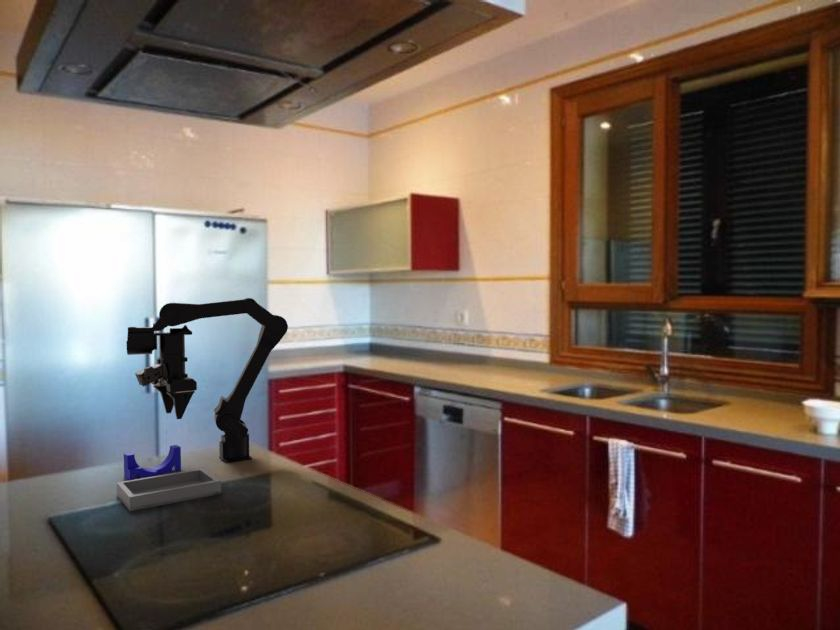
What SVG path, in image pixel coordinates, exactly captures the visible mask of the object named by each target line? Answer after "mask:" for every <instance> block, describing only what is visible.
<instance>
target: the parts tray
mask: <svg viewBox="0 0 840 630" xmlns="http://www.w3.org/2000/svg"><path fill="white" fill-rule="evenodd" d="M221 494H222V480H221V479H219V478H217V477H216V476H215V475H213V474H212V473H211V472H209V471H208V470H206V469H205V468H203V467H202V468H197V469H196V468H195V469H189V470H184V471H176V472H172V473H166V474H160V475H157V476H153V477H147V478H141V479H135V478H134V479H133V480H129V481H128V480H125V481H117V482H116V496H117V497H118V499H119V500H120V501H121V503H123V505H124V506H125V507H126V509H127V510H128V511H129V512H133V511H137V510H143V509H148V508H149V509H150V508H154V507H159V506H164V505H169V504H175V503H180V502H184V501H190V500H196V499H201V498H202V499H203V498H207V497H212V496H217V495H221Z"/></svg>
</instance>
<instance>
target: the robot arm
mask: <svg viewBox="0 0 840 630" xmlns="http://www.w3.org/2000/svg"><path fill="white" fill-rule="evenodd" d="M243 314H246V315H248V316H249V317H251V318H252V319H254V321H255V322H257V323H258V324H260V325H261V327H260V330H259V333H258V336H257V337H258V338H257V341H256V345H255V347H254V349H253V351H252V352H251V355H250V356H249V359H248V360H247V363H246V364H245V366H244V368H243V370H242V372H241V373H240V376H239V378H238V379H237V382H236V383H235V385H234V387H233V389H232V390H231V392H230V393H229V395H227V397H224V396H222V395H221V396H220V398H219V402H218V405H216V407H215V408H214V409H213V410H214V411H213V412H214V421H215V425H216V427H217V428H218V430H220V431H221V432H223V434H221V436H220V438H221V440H220V441H219V443H218V444H219V445H218V446H219V448H218V449H219V456H218V458H219V459H220V460H222V461H224V462H226V463H227V464H229V463H235V462H241V461H247V460H252V459H253V456H251V455H250V434H249V433H248V432H249V429H248V426H247V424H246V422H245V421H243V420H242V419H241V418H242V415H243V412H244V407H245V403H246V400H247V397H248V396H249V394H250V391H251V390H252V388H253V386H254V384H255V382H256V381H257V378H258V377H259V375H260V373H261V371H262V369H263V367H264V365H265V363H266V362H267V360H268V357H269V356H270V354H271V352H272V350H273V349H274V348H275V347H276V346H277V345H278V344H279V343H280V341H281V340H282V339H283V338H284V337H285V335H286V334H287V332H288V329H289V325H288V322H287V320H286V318H284V317H283V316H280V315H279V314H278V315H277V314H272V313H271V312H270V311H268V310H267V309H266V308H265V307H263V306H262V305H260V304H259V303H258V302H257V301H256V300H255V299H254V298H251V297H245V298H244V299H235V300H227V301H225V300H223V301H216V302H207V303H206V302H205V303H187V302H168V303H165V304H163V306H162V307H161V308H160V310H159V313H158V316H159V318H158V319H157V321H156V322H153V323H152V326H147V327H146V326H144V327H143V326H139V327H138V326H129V327H127V340H126V353H127V355H128V356H130V355H131V356H133V355H153V351H155V350H158V337H159V355H160V356H159V357H157V359H156V363H155V364H153V365H150V366H149V365H148V366H147V367H145V368H143V369H139V370H138V371H136V372H134V375H135V377H136V379H137V382H138V384H139V386H142V387H147V386H148V385H150V384H152V385H153V386H152V387H153V388H154V389H156V390H157V391H158V392H159V393H160V396H161V400H162V403H163V405H164V410H165V414H171V413H172V411H173V408H174V411H175V412H174V414H175V419H177V420H182V419H183V416H184V414H185V412H186V410H187V407H188V405H189V403H190V401H191V399H192V397H193V395H194V394H195V393H196V391H197V390H198V383H197V381H196V380H195V379H194V378H192V377H189V375H188V373H187V372H186V362H188V357H187V356H186V345H185V344H186V341H185V340H186V339H185V338H186V337H185V336H189V335H190V336H191V335H193V331H192V330H190V328H189V327H188V326H187V325H186V324H188V323H191V322H194V321H197V320H200V319H209V318H217V317H218V318H219V317H227V316H234V315H236V316H237V315H243ZM183 324H184V325H183ZM180 325H183V326H182V327H179V328H177V326H180ZM168 327H174V328H169V332H161V331H163V330H164V329H165V328H168Z"/></svg>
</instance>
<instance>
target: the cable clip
mask: <svg viewBox="0 0 840 630" xmlns="http://www.w3.org/2000/svg"><path fill="white" fill-rule="evenodd" d="M181 448H182V447H181V446H179V445H178V444H174V445H169V451H168V454H167V456H166V457H165V459H164V460H163V461H162V462H161V463H159V464H158V465H156V466H153V467H143V466H140V465H139V464H138V463H137V459H136V458H135V453H133V452H131V451H128V452H124V453H123V477H124V479H126V481H129V480H135V479H141V478H147V477H153V476H159V475H165V474H171V473H175V472H182V456H181V455H182V449H181Z"/></svg>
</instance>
